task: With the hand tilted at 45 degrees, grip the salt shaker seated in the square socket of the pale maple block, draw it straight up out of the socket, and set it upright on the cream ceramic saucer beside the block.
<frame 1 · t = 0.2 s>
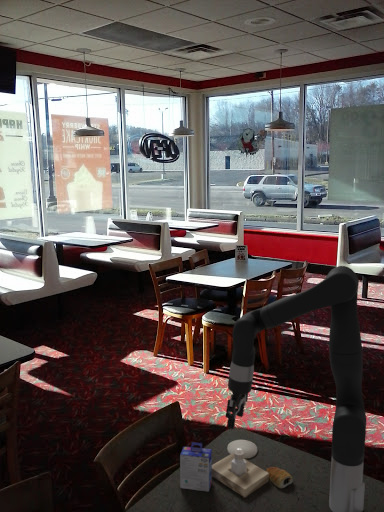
hand: (235, 421, 160), 22 cm above the table, tool pointing down, fingers open, 8 cm apart
socket block: (238, 477, 167), on the table
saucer: (242, 450, 183), on the table
ink cartridge box: (196, 485, 163), on the table
pastry: (278, 481, 166), on the table
salt shaker: (238, 478, 167), resting in socket block
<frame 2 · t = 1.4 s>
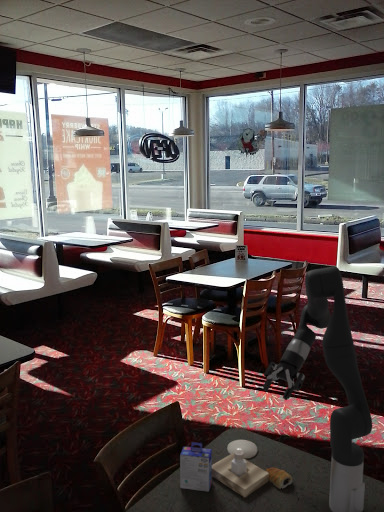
hand: (274, 394, 171), 25 cm above the table, tool tilted 45°, fingers open, 8 cm apart
nothing on the table moved.
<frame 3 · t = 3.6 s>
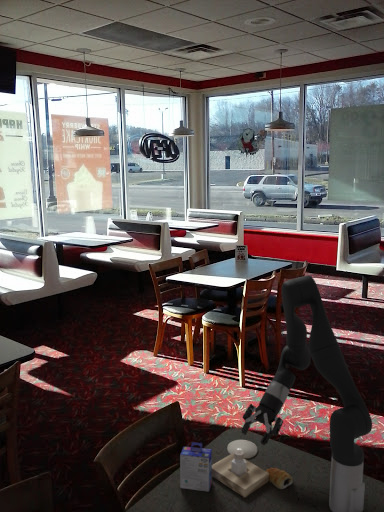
hand: (252, 438, 169), 12 cm above the table, tool tilted 45°, fingers open, 8 cm apart
nothing on the table moved.
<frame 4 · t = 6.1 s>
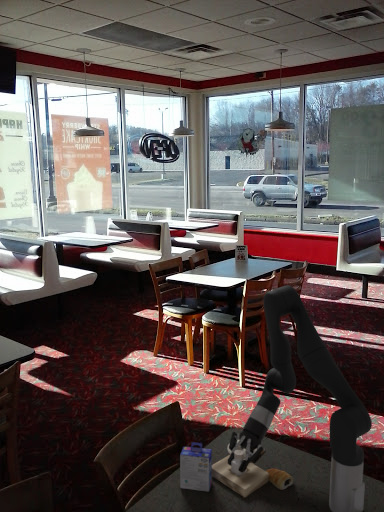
hand: (235, 467, 165), 5 cm above the table, tool tilted 45°, fingers closed on salt shaker, 4 cm apart
salt shaker: (238, 478, 167), resting in socket block, touching gripper
everything else where it was.
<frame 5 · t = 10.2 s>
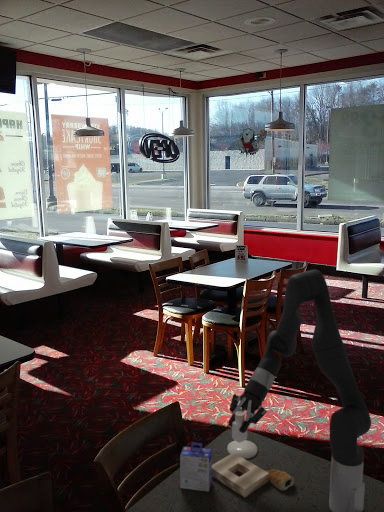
hand: (235, 428, 165), 17 cm above the table, tool tilted 45°, fingers closed on salt shaker, 4 cm apart
salt shaker: (239, 439, 167), point 12 cm above the table, touching gripper
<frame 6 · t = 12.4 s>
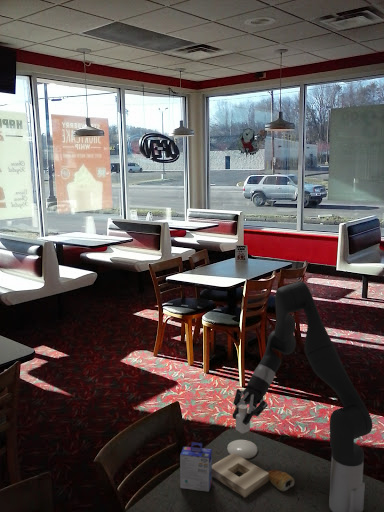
hand: (239, 420, 179), 12 cm above the table, tool tilted 45°, fingers closed on salt shaker, 4 cm apart
salt shaker: (242, 430, 181), point 8 cm above the table, touching gripper
when the fingers open (6 cm above the table, at t = 14.1 s): salt shaker stays where it is, resting on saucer.
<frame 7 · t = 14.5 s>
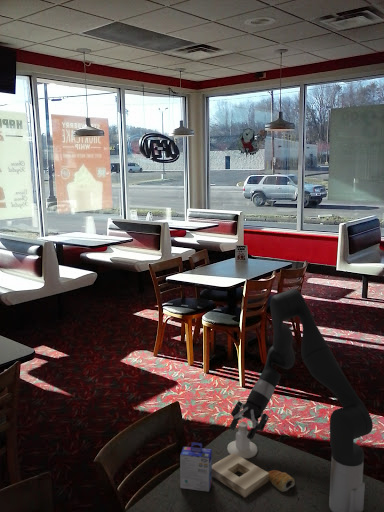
hand: (240, 433, 180), 7 cm above the table, tool tilted 45°, fingers open, 8 cm apart
salt shaker: (242, 448, 183), point 1 cm above the table, touching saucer
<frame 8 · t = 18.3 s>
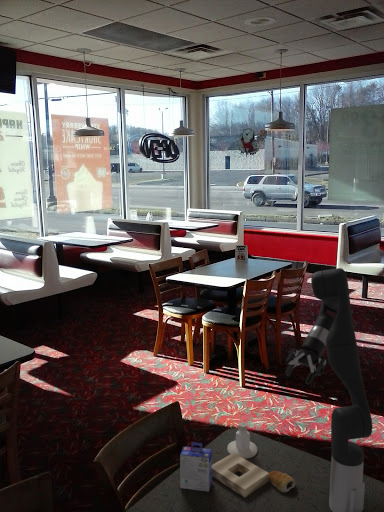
hand: (296, 379, 175), 29 cm above the table, tool tilted 45°, fingers open, 8 cm apart
at the end: salt shaker inside the target area on the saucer (0.1 cm from its centre), point 0.6 cm above the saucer's base; salt shaker tilted 0°; the gripper is holding nothing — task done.
